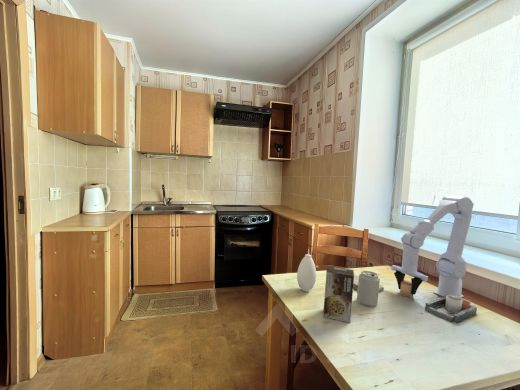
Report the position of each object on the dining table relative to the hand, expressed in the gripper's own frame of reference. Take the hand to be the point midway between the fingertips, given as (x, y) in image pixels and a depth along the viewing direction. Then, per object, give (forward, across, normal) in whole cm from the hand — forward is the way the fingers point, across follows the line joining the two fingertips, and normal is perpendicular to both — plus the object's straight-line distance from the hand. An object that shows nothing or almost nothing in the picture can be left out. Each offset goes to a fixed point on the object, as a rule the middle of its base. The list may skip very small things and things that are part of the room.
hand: (406, 291), depth 110 cm
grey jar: (+1, +16, +4) cm, 16 cm away
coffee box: (+2, 0, -43) cm, 43 cm away
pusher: (+1, +16, +7) cm, 18 cm away
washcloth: (+2, -15, -12) cm, 19 cm away
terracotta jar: (+1, 0, 0) cm, 1 cm away
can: (+2, -2, -24) cm, 24 cm away
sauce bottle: (+2, -20, -40) cm, 45 cm away
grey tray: (+1, +16, +1) cm, 16 cm away
